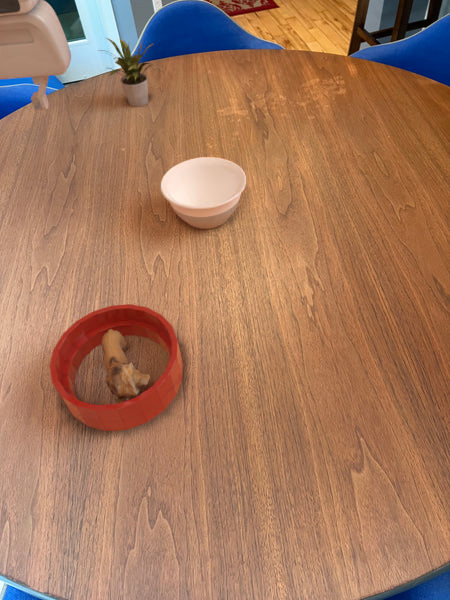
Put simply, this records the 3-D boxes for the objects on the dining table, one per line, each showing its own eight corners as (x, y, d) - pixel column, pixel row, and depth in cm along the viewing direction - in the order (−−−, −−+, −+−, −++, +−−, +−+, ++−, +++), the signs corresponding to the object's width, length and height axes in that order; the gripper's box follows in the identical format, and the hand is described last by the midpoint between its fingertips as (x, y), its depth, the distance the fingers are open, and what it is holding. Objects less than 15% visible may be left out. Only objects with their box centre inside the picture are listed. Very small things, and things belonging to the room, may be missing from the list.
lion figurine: (161, 407, 67) (150, 372, 60) (126, 425, 65) (110, 392, 59) (123, 336, 76) (109, 298, 69) (91, 350, 74) (73, 313, 67)
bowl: (208, 256, 87) (203, 219, 81) (150, 221, 95) (142, 185, 88) (264, 212, 94) (264, 175, 88) (206, 183, 102) (202, 147, 96)
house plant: (96, 107, 128) (78, 42, 116) (131, 85, 135) (118, 22, 123) (136, 120, 122) (121, 53, 110) (170, 96, 129) (160, 31, 117)
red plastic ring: (54, 437, 66) (37, 414, 61) (75, 334, 77) (62, 308, 72) (182, 428, 65) (175, 405, 60) (184, 326, 77) (178, 300, 72)
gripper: (-149, 9, 51) (-79, 129, 61) (40, -7, 51) (78, 116, 61) (-123, -10, 55) (-62, 105, 66) (52, -25, 55) (86, 93, 65)
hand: (7, 110), depth 63 cm, fingers open, 8 cm apart
